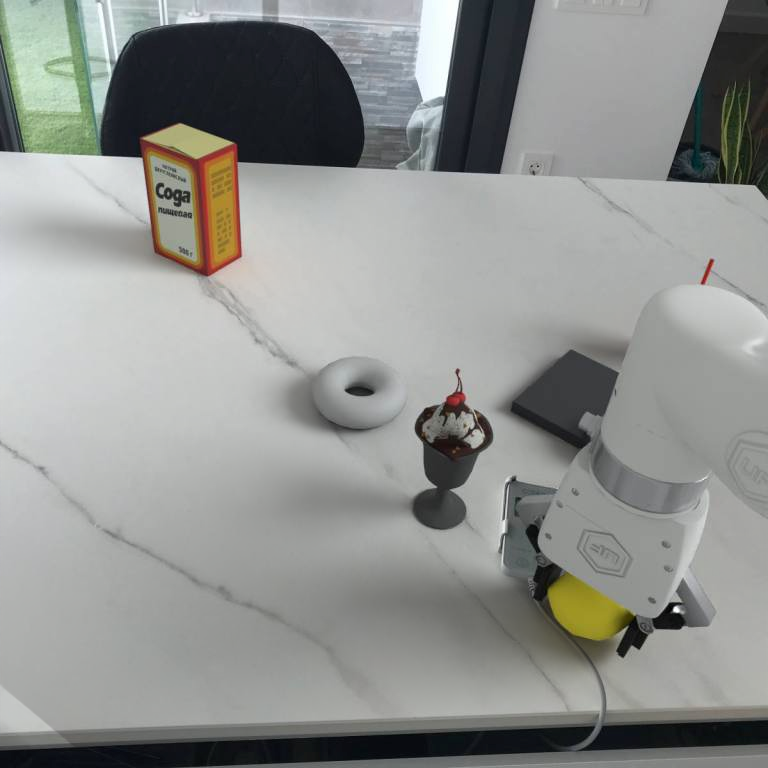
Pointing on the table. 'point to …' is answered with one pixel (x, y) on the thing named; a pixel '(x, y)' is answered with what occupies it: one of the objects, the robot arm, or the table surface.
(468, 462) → the sundae
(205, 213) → the baking soda box
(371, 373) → the donut
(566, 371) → the scale
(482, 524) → the table surface
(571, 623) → the lemon
